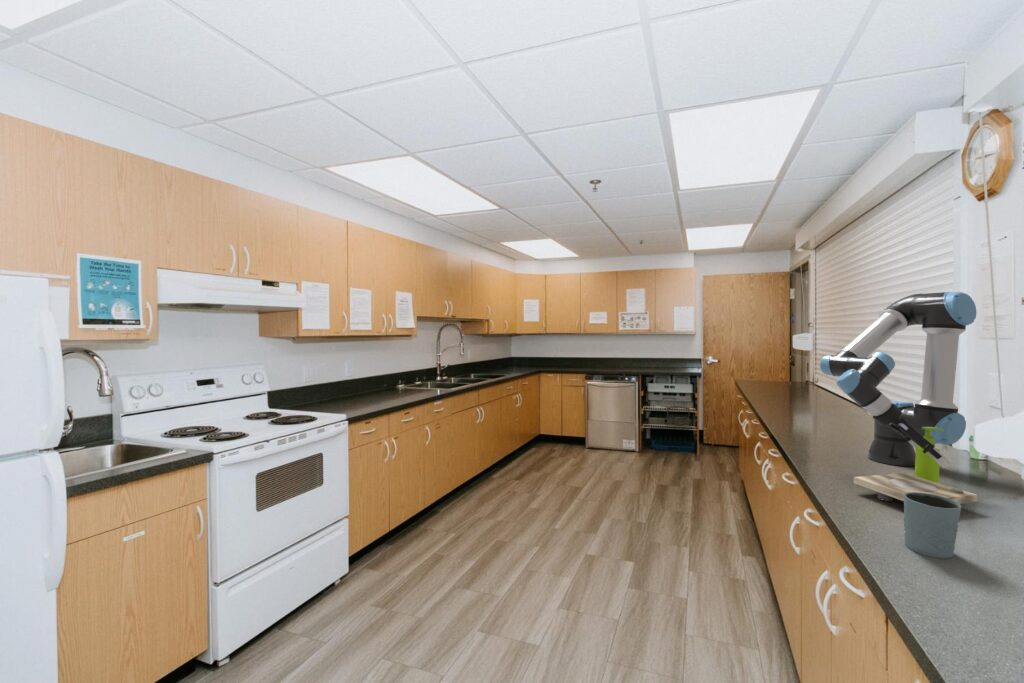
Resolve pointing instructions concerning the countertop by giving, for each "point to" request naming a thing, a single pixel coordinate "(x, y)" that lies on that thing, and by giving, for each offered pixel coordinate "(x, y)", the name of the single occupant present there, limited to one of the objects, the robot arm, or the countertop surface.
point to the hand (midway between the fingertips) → (938, 459)
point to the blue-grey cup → (930, 524)
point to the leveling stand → (911, 487)
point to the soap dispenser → (927, 459)
